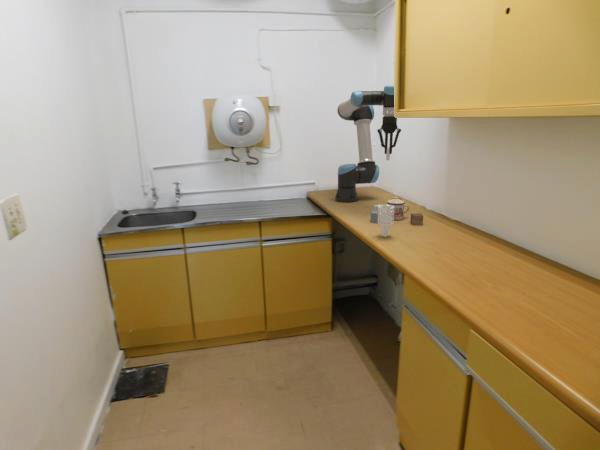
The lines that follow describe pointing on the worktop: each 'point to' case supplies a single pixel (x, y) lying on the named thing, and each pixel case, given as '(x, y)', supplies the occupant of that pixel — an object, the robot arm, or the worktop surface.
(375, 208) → the sage block
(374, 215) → the slate block
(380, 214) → the pale grey tall piece
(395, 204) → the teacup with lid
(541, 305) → the worktop surface
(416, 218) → the walnut block
